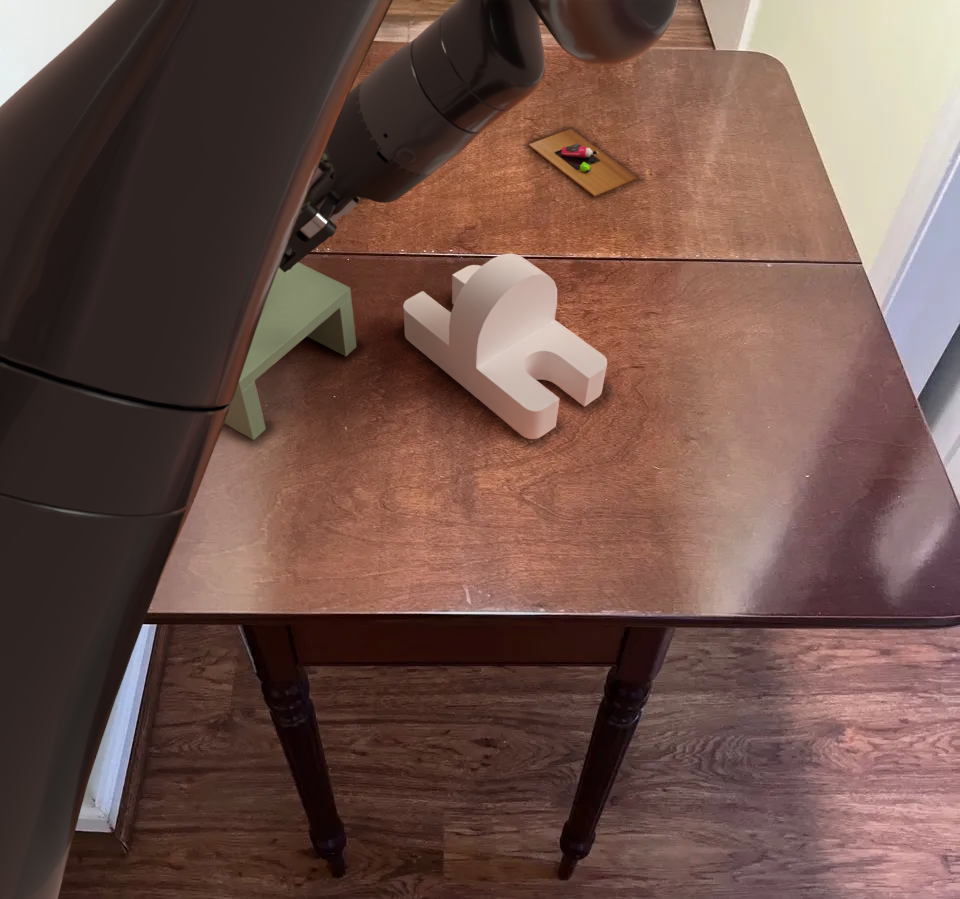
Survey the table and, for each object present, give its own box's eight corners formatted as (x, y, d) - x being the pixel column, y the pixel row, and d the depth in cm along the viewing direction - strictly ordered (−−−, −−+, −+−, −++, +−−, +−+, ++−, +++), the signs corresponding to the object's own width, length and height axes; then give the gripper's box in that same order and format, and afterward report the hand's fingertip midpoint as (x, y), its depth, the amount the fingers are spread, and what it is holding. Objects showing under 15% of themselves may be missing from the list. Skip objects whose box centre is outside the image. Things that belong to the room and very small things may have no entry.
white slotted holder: (531, 443, 79) (541, 352, 70) (399, 333, 87) (394, 240, 78) (607, 390, 83) (625, 299, 74) (474, 290, 91) (477, 198, 83)
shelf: (253, 440, 78) (231, 354, 70) (122, 363, 83) (88, 275, 75) (356, 347, 85) (347, 260, 78) (230, 282, 91) (209, 194, 83)
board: (593, 196, 102) (595, 185, 101) (529, 145, 108) (529, 134, 107) (636, 179, 104) (638, 167, 103) (570, 130, 110) (571, 118, 109)
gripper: (396, 28, 65) (268, 148, 75) (329, 136, 56) (194, 255, 66) (468, 109, 68) (336, 213, 78) (415, 222, 59) (274, 323, 69)
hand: (271, 232), depth 72 cm, fingers open, 8 cm apart
